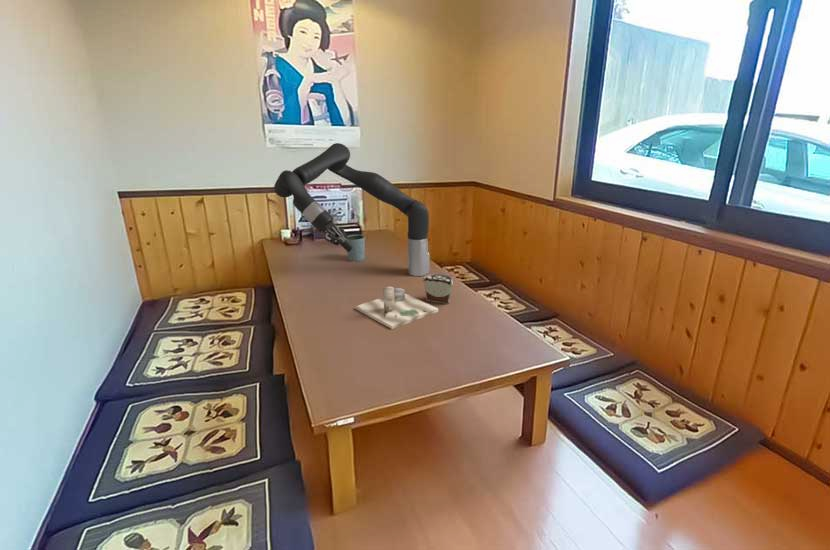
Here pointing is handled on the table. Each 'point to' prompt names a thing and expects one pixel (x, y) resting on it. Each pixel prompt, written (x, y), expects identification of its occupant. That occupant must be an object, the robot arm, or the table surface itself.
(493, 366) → the table surface
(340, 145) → the robot arm
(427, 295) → the food container
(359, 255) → the grey cup
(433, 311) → the dial plate
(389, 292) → the peg dial
